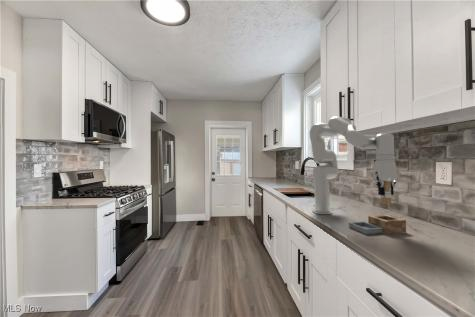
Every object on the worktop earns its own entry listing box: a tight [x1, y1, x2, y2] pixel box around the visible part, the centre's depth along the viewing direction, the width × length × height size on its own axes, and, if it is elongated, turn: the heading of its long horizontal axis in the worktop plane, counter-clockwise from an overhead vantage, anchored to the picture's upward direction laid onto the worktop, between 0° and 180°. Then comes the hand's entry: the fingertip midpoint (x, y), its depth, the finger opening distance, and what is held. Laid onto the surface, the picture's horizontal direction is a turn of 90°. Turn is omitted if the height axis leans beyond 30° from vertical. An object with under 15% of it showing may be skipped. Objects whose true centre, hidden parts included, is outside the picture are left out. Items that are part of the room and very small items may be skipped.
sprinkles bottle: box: [380, 178, 392, 206], centre depth 110 cm, size 5×5×14 cm
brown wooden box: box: [367, 214, 407, 235], centre depth 110 cm, size 11×11×6 cm
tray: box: [348, 221, 384, 236], centre depth 110 cm, size 12×9×2 cm
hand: (385, 194), depth 110 cm, fingers closed on sprinkles bottle, 4 cm apart
